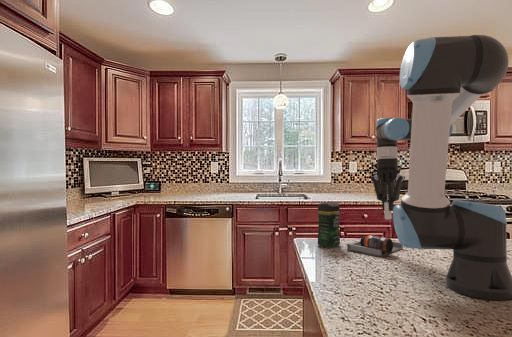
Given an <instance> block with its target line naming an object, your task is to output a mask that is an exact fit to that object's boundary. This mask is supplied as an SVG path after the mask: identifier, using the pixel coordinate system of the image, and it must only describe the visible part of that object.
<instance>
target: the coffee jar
mask: <svg viewBox="0 0 512 337" xmlns="http://www.w3.org/2000/svg"><path fill="white" fill-rule="evenodd" d="M340 207H341V206H340V204H339V203H338V202H334V201H326V202H320V203H319V204H318V205H317V216H318V227H317V229H318V230H317V246H320V247H321V248H330V249H331V248H335V247H339V246H340V245H341V237H340V236H341V234H340V212H341V208H340Z"/></svg>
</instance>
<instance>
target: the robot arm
mask: <svg viewBox="0 0 512 337" xmlns="http://www.w3.org/2000/svg"><path fill="white" fill-rule="evenodd" d="M509 61H510V59H509V54H508V51H507V49H506V47H505V46H504V45H503V44H502V43H501V41H499V40H498V39H496V38H494V37H492V36H490V35H485V34H473V35H458V36H457V35H455V36H438V37H437V36H436V37H434V36H433V37H428V38H421V39H416V40H414V41H412V42H411V43H410V44H409V46H408V47H407V49H406V51H405V53H404V54H403V58H402V60H401V64H400V69H399V77H398V78H399V86H400V88H401V89H403V90H405V91H406V97H407V98H408V99H409V100H410V101H411V103H412V115H411V118H403V117H382V118H379V119H377V120H376V126H375V131H376V132H375V133H376V136H375V137H376V158H378V159H376V172H375V173H376V174H374V175H371V176H370V180H372V182H373V186H374V192H375V195H376V199H377V201H380V202H381V204H382V206H381V207H382V211H384V220H387V221H388V220H393V228H394V231H395V234H396V237H397V239H398V242H400V243H401V244H402V245H403V248H407V249H417V250H452V252H453V254H452V259H451V262H450V266H449V268H448V271H447V274H446V279H445V283H446V284H445V285H446V286H447V288H448V289H450V290H451V291H454V292H456V293H458V294H461V295H465V296H468V297H472V298H477V299H481V300H482V299H483V300H488V301H508V300H512V274H511V271H510V269H509V266H508V263H507V262H508V261H507V260H508V259H507V255H508V254H507V252H508V250H507V226H508V223H507V217H506V216H507V215H506V211H505V209H504V207H502V206H499V205H496V204H491V203H484V202H477V201H469V200H462V199H453V200H452V202H451V201H450V200H449V199H448V197H447V196H446V195H445V189H446V179H447V178H446V177H447V167H448V166H447V165H448V164H447V163H448V154H449V153H448V152H449V143H450V142H449V140H450V137H451V135H452V133H453V128H454V127H453V124H454V123H455V122H456V120H458V118H460V117H462V115H463V114H464V113H465V112H466V111H467V110H468V109H469V108H470V107H471V106H472V105H473V104H475V102H476V101H477V100H478V99H479V98H481V96H483V95H486V94H489V93H491V92H492V91H494V89H496V87H497V86H499V85H500V84H501V83H502V81H503V80H504V78H505V77H506V74H507V72H508V69H509V65H510V64H509V63H510V62H509ZM398 141H410V148H409V150H410V151H409V163H408V164H409V165H408V166H409V167H408V179H407V180H408V182H407V183H408V184H407V192H406V193H405V194H404V195H402V196H401V195H400V194H401V192H402V187H403V182H404V180H405V179H406V176H405V175H402V174H400V173H399V170H398V167H399V166H398V161H399V160H398V158H397V157H398ZM395 180H396V181H395ZM395 182H396V183H395ZM400 196H401V198H400ZM399 199H400V204H396V205H394V203H395V202H398V201H399Z"/></svg>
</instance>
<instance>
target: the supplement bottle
mask: <svg viewBox="0 0 512 337" xmlns="http://www.w3.org/2000/svg"><path fill="white" fill-rule="evenodd" d="M359 241H360V244H361V246H364V247H369V248H374V249H379V250H382V253H384V254H388V255H390V254H392V253H391V252H392V249H393V242H392V241H393V240H392V239H391V237H383V236H379V235H373V234H372V235H371V234H369V235H367V236H362V237H360V240H359Z"/></svg>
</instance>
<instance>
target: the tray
mask: <svg viewBox="0 0 512 337" xmlns="http://www.w3.org/2000/svg"><path fill="white" fill-rule="evenodd" d="M392 242H393V249H392V252H391V253H390V254H393V253H395V252H398V251H401V250H403V249H404V246H403V245H402V244H401V243H400V242H399V241H393V240H392ZM346 247H347V251H349V252H354V253H358V254H364V255H368V256H374V257H378V258H381V257H385V256H388V255H389V254H384V253H382V250H379V249H374V248H369V247H364V246H361V244H360V240H357V241H353V242H350V243H347V246H346Z"/></svg>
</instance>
